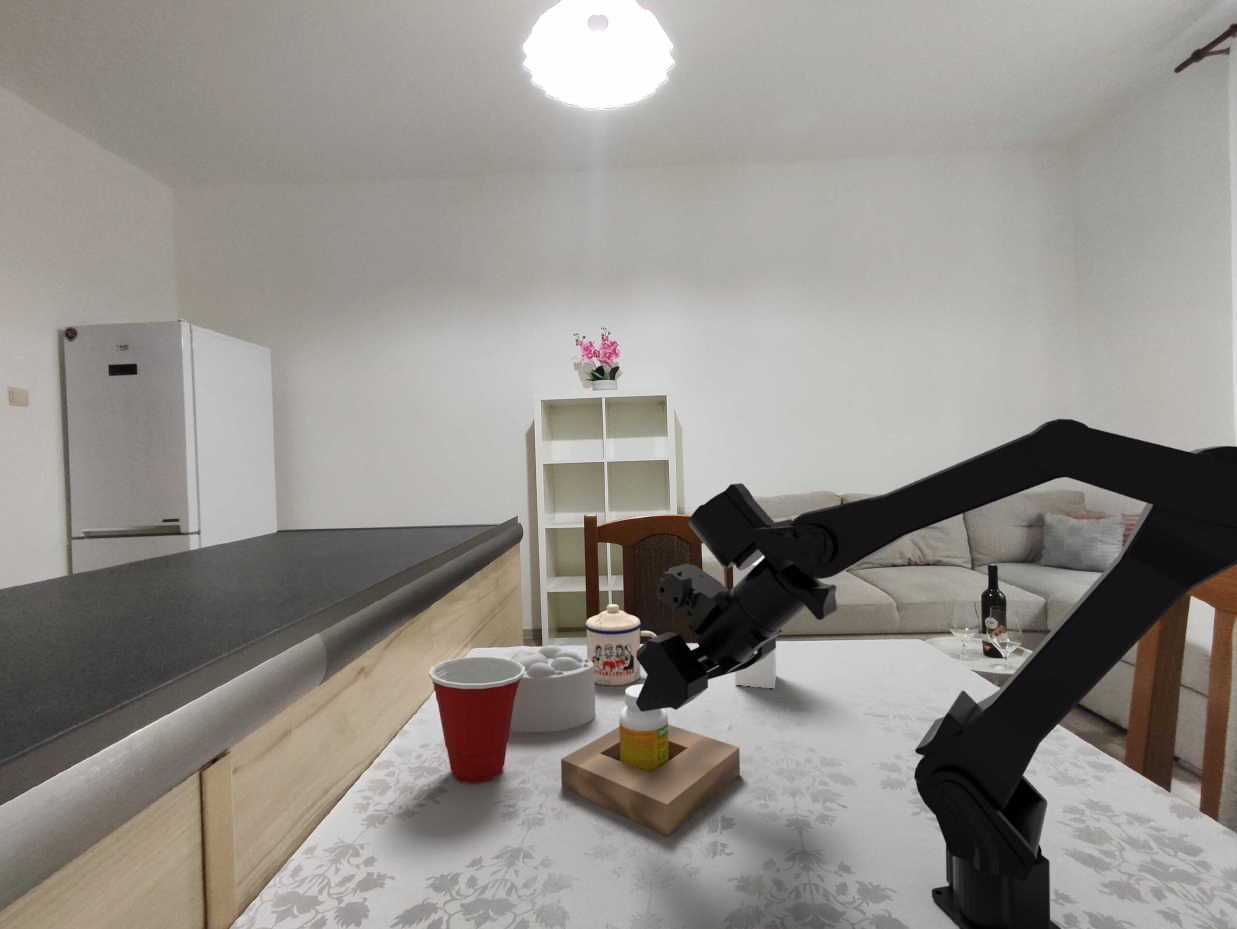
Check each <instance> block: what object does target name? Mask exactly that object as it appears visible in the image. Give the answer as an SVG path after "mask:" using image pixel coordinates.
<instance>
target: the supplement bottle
mask: <svg viewBox="0 0 1237 929" xmlns="http://www.w3.org/2000/svg"><path fill="white" fill-rule="evenodd" d="M643 685H644V683H643V684H642V683H641V684H640V683H639V684H634V685H629V687H626V688H625V691H624V701H625V706H624V707H623V708H622V710H621V711H620V714H619V727H620V762H623V763H625V764H628V765H630V766H633V767H635V768H638V769H640V770H643V771H645V772H648V773H650V774H651V773H652V772H654V771H655V770H657V769H658V768H660V767H661V766H662V765H664V764H665V763H667V762H668V761H669V749H668V724H669V717H668V713H667V711H666V708H663V709H656V710H650V711H643V712H642V711H640V709H639V708H638V706H637V705H636V700H637V698H638V696H639V694H640V691H641V689H642V687H643Z"/></svg>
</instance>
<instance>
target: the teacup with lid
mask: <svg viewBox="0 0 1237 929" xmlns="http://www.w3.org/2000/svg"><path fill="white" fill-rule="evenodd" d="M584 625H585V626H584V627H585V629H586V654H587V655H586V658H587V659H589V660H591V661H592V662H593V664H594V676H595V684H597V685H602V686H611V687H612V686H614V687H615V686H623V685H628V684H632V683H634V682H635V681H637V680H639V678H641V664H640V663H639V661H638V660H637V658H636V654H637V650H638V649H639V648H640V647H641V637H650V639H652V638H654V637H657V636H658V635H657V634H656V633H654V632H652V631H650V630H641V628H642V623H641V621H640V618H638V617H637V616H635V615H632V614H628V613H627V612H625V610H624V611H623V610H620V606H619V605H618V604H617V603H616V604H615V603H610V604H607V605H606V610H603V611H602V612H600V613H599V614H597V615H593V616H591V617H589V618H587V620H586V622H585V624H584Z"/></svg>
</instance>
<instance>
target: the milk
mask: <svg viewBox="0 0 1237 929" xmlns="http://www.w3.org/2000/svg"><path fill="white" fill-rule="evenodd" d="M763 558H764V555H763V556H762V557H761V558H760V559H759V560H757V561H756V562H755V563H753V564H752V565H751V566H749V567H748V568H746V569H744V570H741V571H739V570H738V569H737V568H736V566H735V565H734V566H732V576H733V578H732V579H733V580H732V581H733V582H732V583H733V584H732V585H733V587H735V586H736V585H737V584H738V583H739V582H740V581H741V580H742V579H743V578H744V577H745V576H746V575H747V574H748V573H749V572H750V571H751V570H752V569H753V568H754V567H755V566H756V565H757V564H758V563H759V562H760V561H761V560H762V559H763ZM733 587H732V588H733ZM776 651H777V647H776V648H775V649H774V650H773V651H772V652H771V653H770V654H768V655H767V656H766V657H765V658H763V659H761V660H760V661H758V662H756V663H755V664H753V665H751V666H749V667H748V668H746V669H743V670H739V671H736V672H734V685H735V686H736V685H742V686H741V687H747V686H750V687H749V688H758V687H761V688H760V689H769V688H773V689H772V690H775V689H776V688H775V687H776V678H777V661H776V660H777V656H776V655H777V654H776ZM756 653H757V651H755V652H754V654H756Z"/></svg>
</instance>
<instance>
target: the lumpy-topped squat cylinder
mask: <svg viewBox="0 0 1237 929" xmlns="http://www.w3.org/2000/svg"><path fill="white" fill-rule="evenodd" d="M506 659H509V660H513V661H516V662H519V663H520V664H522V665H523V666H524V667H525V673H524V676H523V677H522V678H521V679H520V682H519V685H518V688H517V692H516V697H515V699H514V706H513V712H512V719H511V726H510V732H519V733H520V732H521V733H551V732H553V733H554V732H562V731H566V730H571V729H575V728H578V727H581V726H583V725H585V724H588V723H589V722H591V721H592V720H594V719H595V717H596V691H595V690H596V688H595V684H596V683H595V676H594V664H593V662H592V661H591V660H589V659H587V657H585V656H581V655H579V654H578V653H576V651H573V650H568V649H567V650H566V649H565V650H562V649H561V648H560V647H558V646H556V645H553V644H548V645H544V646H542V647H541V648H540V649H539V650H538V651H533V650H526V649H525V650H520V651H517V652H515V653H514V654H513V655H511V656H509V657H507V658H506Z"/></svg>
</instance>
